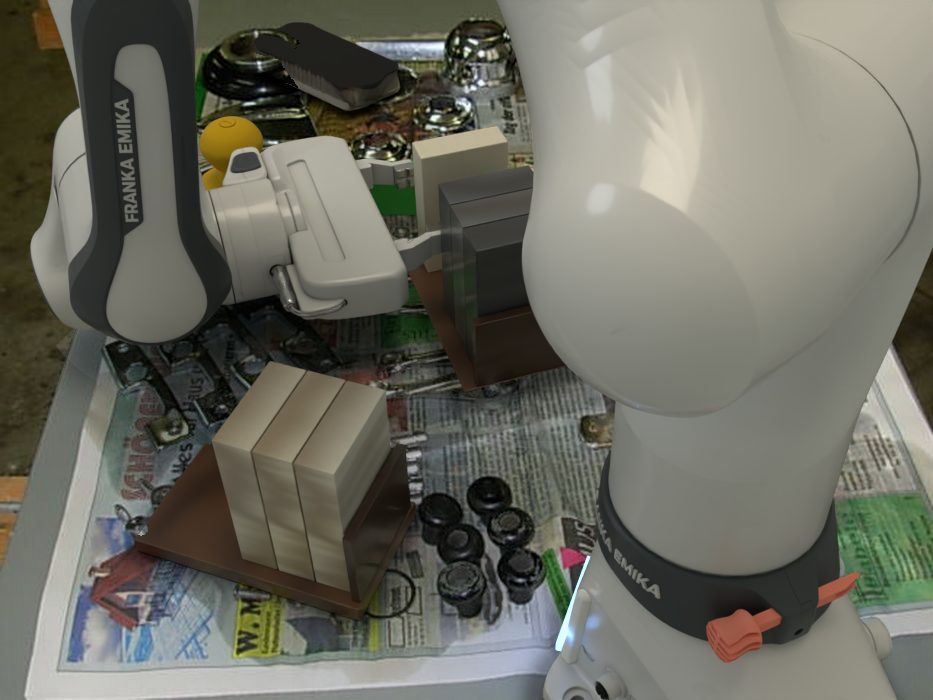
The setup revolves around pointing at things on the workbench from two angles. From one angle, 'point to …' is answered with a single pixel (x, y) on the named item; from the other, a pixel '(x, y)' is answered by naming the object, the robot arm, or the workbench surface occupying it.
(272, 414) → the stand
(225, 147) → the doorknob
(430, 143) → the white book
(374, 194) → the pipe clamp
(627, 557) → the robot arm
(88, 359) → the workbench surface
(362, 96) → the black sponge
